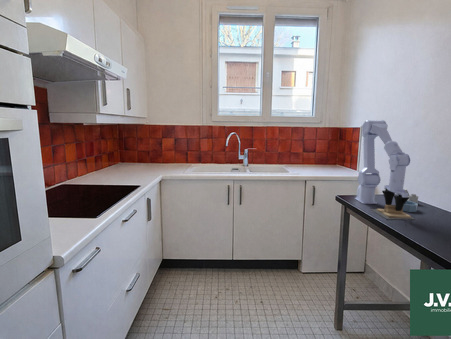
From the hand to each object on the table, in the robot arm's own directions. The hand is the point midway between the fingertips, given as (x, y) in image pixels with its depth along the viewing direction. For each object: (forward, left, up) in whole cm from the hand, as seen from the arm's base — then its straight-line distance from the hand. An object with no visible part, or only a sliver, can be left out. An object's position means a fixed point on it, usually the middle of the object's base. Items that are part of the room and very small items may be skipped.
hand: (393, 207), depth 124 cm
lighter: (-18, +20, -3) cm, 27 cm away
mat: (0, 0, -3) cm, 3 cm away
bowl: (-8, +12, -3) cm, 15 cm away
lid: (0, 0, -3) cm, 3 cm away
